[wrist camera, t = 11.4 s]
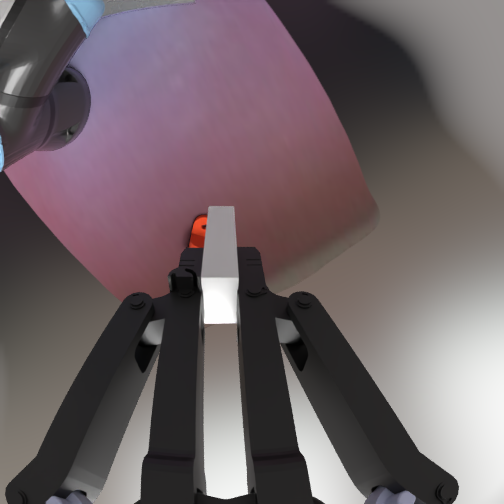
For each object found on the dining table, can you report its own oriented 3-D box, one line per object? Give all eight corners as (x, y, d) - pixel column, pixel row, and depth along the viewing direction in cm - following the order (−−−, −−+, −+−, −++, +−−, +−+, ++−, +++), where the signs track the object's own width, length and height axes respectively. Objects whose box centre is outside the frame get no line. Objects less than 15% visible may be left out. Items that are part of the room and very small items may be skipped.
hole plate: (68, 28, 26) (65, 27, 25) (70, 6, 23) (67, 5, 22) (195, 3, 28) (194, 2, 27) (197, -19, 25) (196, -21, 24)
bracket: (196, 212, 49) (193, 226, 44) (217, 217, 49) (216, 231, 45) (185, 263, 55) (182, 279, 50) (203, 267, 55) (202, 283, 51)
